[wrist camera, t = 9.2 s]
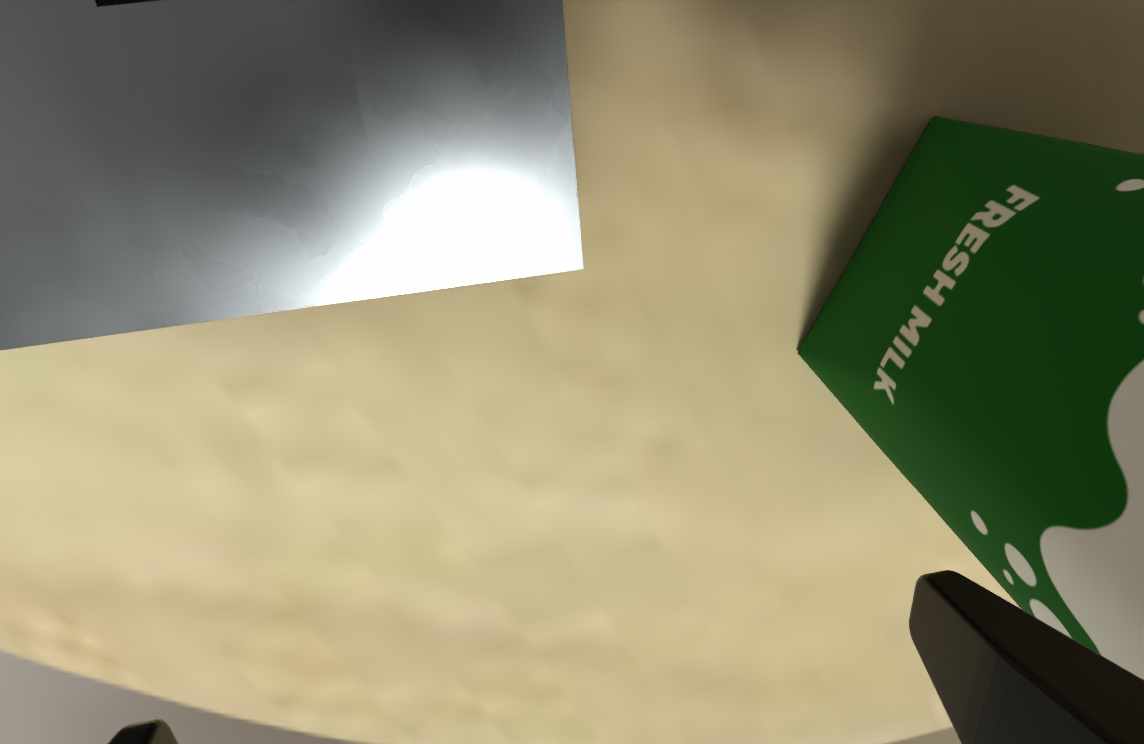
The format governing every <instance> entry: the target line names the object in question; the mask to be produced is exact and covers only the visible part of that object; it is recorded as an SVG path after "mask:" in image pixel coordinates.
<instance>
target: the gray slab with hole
mask: <svg viewBox="0 0 1144 744" xmlns="http://www.w3.org/2000/svg"><path fill="white" fill-rule="evenodd" d="M579 269H583V259H582V246H581V233H580V221H579V208H578V195H577V183H576V170H575V157H574V145H573V132H572V119H571V107H570V94H569V82H568V69H567V56H566V44H565V31H564V18H563V6H562V0H0V350H6V349H13V348H20V347H27V346H34V345H42V344H49V343H56V342H63V341H70V340H77V339H85V338H92V337H99V336H106V335H113V334H120V333H128V332H135V331H142V330H149V329H156V328H163V327H171V326H178V325H185V324H192V323H199V322H206V321H214V320H221V319H228V318H235V317H242V316H249V315H257V314H264V313H271V312H278V311H285V310H292V309H300V308H307V307H314V306H321V305H328V304H335V303H343V302H350V301H357V300H364V299H371V298H379V297H386V296H393V295H400V294H407V293H414V292H422V291H429V290H436V289H443V288H450V287H457V286H465V285H472V284H479V283H486V282H493V281H500V280H508V279H515V278H522V277H529V276H536V275H543V274H551V273H558V272H565V271H572V270H579Z"/></svg>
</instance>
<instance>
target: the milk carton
mask: <svg viewBox="0 0 1144 744" xmlns="http://www.w3.org/2000/svg"><path fill="white" fill-rule="evenodd" d="M798 354H799V355H800V356H801V357H802V359H803V360H804V361H805V362H806V363H807V364H808V366H809V367H810V368H811V369H812V370H813V371H814V372H815V374H816V375H817V376H818V377H819V378H820V379H821V381H822V382H823V383H824V384H825V385H826V386H827V388H828V389H829V390H830V391H831V392H832V393H833V395H834V396H835V397H836V398H837V399H838V400H839V401H840V403H841V404H842V405H843V406H844V407H845V408H846V410H847V411H848V412H849V413H850V414H851V415H852V417H853V418H854V419H855V420H856V421H857V422H858V423H859V425H860V426H861V427H862V428H863V429H864V430H865V432H866V433H867V434H868V435H869V436H870V437H871V438H872V440H873V441H874V442H875V443H876V444H877V445H878V447H879V448H880V449H881V450H882V451H883V452H884V453H885V455H886V456H887V457H888V458H889V459H890V460H891V461H892V462H893V464H894V465H895V466H896V467H897V468H898V469H899V470H900V472H901V473H902V474H903V475H904V476H905V477H906V478H907V479H908V481H909V482H910V483H911V484H912V485H913V486H914V487H915V488H916V489H917V490H918V492H919V493H920V494H921V495H922V496H923V497H924V498H925V499H926V501H927V502H928V503H929V504H930V505H931V506H932V508H933V509H934V510H935V511H936V512H937V513H938V514H939V516H940V517H941V518H942V519H943V520H944V521H945V523H946V524H947V525H948V526H949V527H950V528H951V529H952V531H953V532H954V533H955V534H956V535H957V536H958V537H959V539H960V540H961V541H962V542H963V543H964V544H965V545H966V546H967V548H968V549H969V550H970V551H971V552H972V553H973V554H974V556H975V557H976V558H977V559H978V560H979V561H980V562H981V563H982V565H983V566H984V567H985V568H986V569H987V570H988V571H989V573H990V574H991V575H992V576H993V577H994V578H995V579H996V581H997V582H998V583H999V584H1000V585H1001V586H1002V587H1003V588H1004V590H1005V591H1006V592H1007V593H1008V594H1009V595H1010V596H1011V598H1012V599H1013V600H1014V601H1015V602H1016V603H1017V604H1018V606H1019V607H1020V608H1021V609H1022V610H1023V611H1025V612H1027V613H1029V614H1030V615H1032V616H1034V617H1036V618H1037V619H1039V620H1041V621H1042V622H1044V623H1046V624H1048V625H1049V626H1051V627H1053V628H1055V629H1056V630H1058V631H1060V632H1062V633H1063V634H1065V635H1067V636H1069V637H1070V638H1072V639H1074V640H1075V641H1077V642H1079V643H1081V644H1082V645H1084V646H1086V647H1088V648H1089V649H1091V650H1093V651H1095V652H1096V653H1098V654H1100V655H1101V656H1103V657H1105V658H1107V659H1108V660H1110V661H1112V662H1114V663H1115V664H1117V665H1119V666H1121V667H1122V668H1124V669H1126V670H1128V671H1129V672H1131V673H1133V674H1134V675H1136V676H1138V677H1140V678H1141V679H1143V680H1144V154H1138V153H1132V152H1126V151H1121V150H1115V149H1110V148H1105V147H1100V146H1095V145H1090V144H1085V143H1080V142H1074V141H1069V140H1063V139H1058V138H1052V137H1047V136H1041V135H1036V134H1030V133H1024V132H1019V131H1013V130H1008V129H1002V128H996V127H991V126H985V125H980V124H974V123H968V122H963V121H957V120H952V119H947V118H942V117H937V116H933V117H932V118H931V120H930V122H929V124H928V125H927V127H926V129H925V131H924V132H923V134H922V136H921V138H920V139H919V141H918V143H917V145H916V146H915V148H914V150H913V152H912V153H911V155H910V157H909V159H908V160H907V162H906V164H905V166H904V167H903V169H902V171H901V173H900V174H899V176H898V178H897V180H896V181H895V183H894V185H893V187H892V188H891V190H890V192H889V194H888V195H887V197H886V199H885V201H884V202H883V204H882V206H881V208H880V209H879V211H878V213H877V215H876V216H875V218H874V220H873V222H872V223H871V225H870V227H869V229H868V230H867V232H866V234H865V236H864V237H863V239H862V241H861V243H860V244H859V246H858V248H857V250H856V251H855V253H854V255H853V257H852V258H851V260H850V262H849V264H848V265H847V267H846V269H845V271H844V272H843V274H842V276H841V278H840V279H839V281H838V283H837V285H836V286H835V288H834V290H833V292H832V293H831V295H830V297H829V299H828V300H827V302H826V304H825V306H824V307H823V309H822V311H821V313H820V314H819V316H818V318H817V320H816V321H815V323H814V325H813V327H812V328H811V330H810V332H809V334H808V335H807V337H806V339H805V341H804V342H803V344H802V346H801V348H800V349H799V351H798Z"/></svg>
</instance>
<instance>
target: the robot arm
mask: <svg viewBox="0 0 1144 744" xmlns="http://www.w3.org/2000/svg"><path fill="white" fill-rule="evenodd" d="M909 629H910V634H911V637H912V640H913V642H914V644H915V647H916V649H917V651H918V653H919V655H920V657H921V659H922V661H923V664H924V666H925V668H926V670H927V672H928V674H929V676H930V678H931V680H932V683H933V685H934V687H935V689H936V691H937V693H938V695H939V697H940V699H941V702H942V704H943V706H944V708H945V710H946V712H947V714H948V716H949V718H950V721H951V723H952V725H953V727H954V729H955V731H956V733H957V735H958V738H959V739H960V741H961V743H962V744H1144V680H1143V679H1141V678H1140V677H1138V676H1136V675H1134V674H1133V673H1131V672H1129V671H1128V670H1126V669H1124V668H1122V667H1121V666H1119V665H1117V664H1115V663H1114V662H1112V661H1110V660H1108V659H1107V658H1105V657H1103V656H1101V655H1100V654H1098V653H1096V652H1095V651H1093V650H1091V649H1089V648H1088V647H1086V646H1084V645H1082V644H1081V643H1079V642H1077V641H1075V640H1074V639H1072V638H1070V637H1069V636H1067V635H1065V634H1063V633H1062V632H1060V631H1058V630H1056V629H1055V628H1053V627H1051V626H1049V625H1048V624H1046V623H1044V622H1042V621H1041V620H1039V619H1037V618H1036V617H1034V616H1032V615H1030V614H1029V613H1027V612H1025V611H1023V610H1022V609H1020V608H1018V607H1016V606H1015V605H1013V604H1011V603H1010V602H1008V601H1006V600H1004V599H1003V598H1001V597H999V596H997V595H996V594H994V593H992V592H990V591H989V590H987V589H985V588H983V587H982V586H980V585H978V584H977V583H975V582H973V581H971V580H970V579H968V578H966V577H964V576H963V575H961V574H959V573H957V572H954V571H950V570H946V571H940V572H935V573H929V574H924V575H922V576H920V577H919V579H918V580H917V582H916V586H915V591H914V596H913V602H912V607H911V612H910V618H909ZM108 744H178V742H177V740H176V738H175V736H174V734H173V733H172V731H171V729H170V727H169V726H168V724H167V723H166V722H165V721H163V720H161V719H155V720H150V721H145V722H139V723H134V724H130V725H127V726H125V727H123V728H122V729H121V730H119V731H118V732H117V733H116V735H115V736H114V737H113V738H112V739H111V740H110V742H109V743H108Z"/></svg>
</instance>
